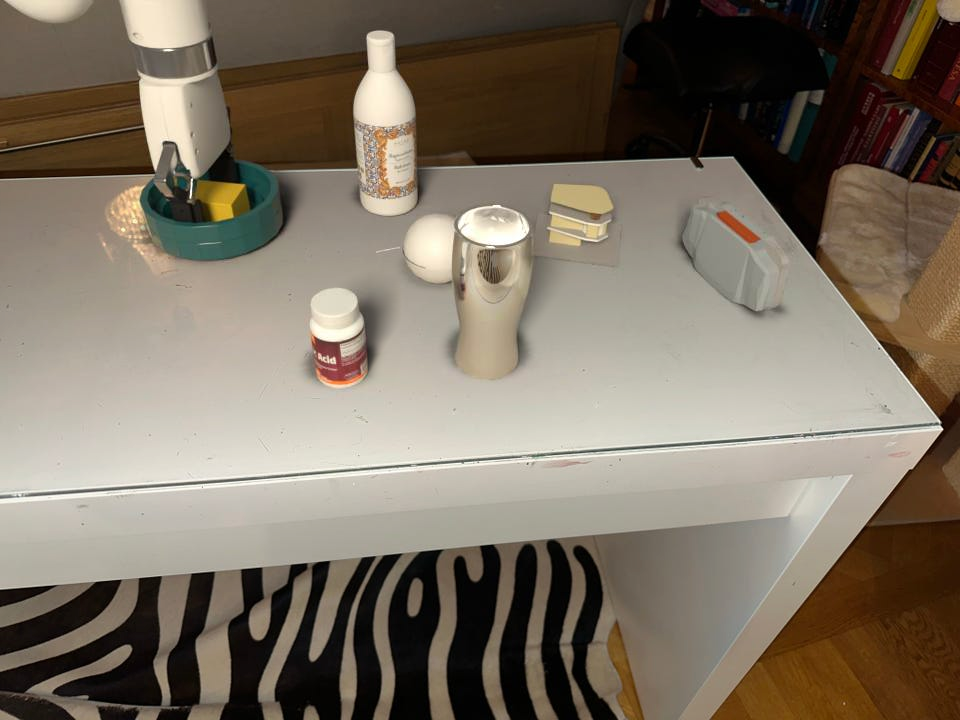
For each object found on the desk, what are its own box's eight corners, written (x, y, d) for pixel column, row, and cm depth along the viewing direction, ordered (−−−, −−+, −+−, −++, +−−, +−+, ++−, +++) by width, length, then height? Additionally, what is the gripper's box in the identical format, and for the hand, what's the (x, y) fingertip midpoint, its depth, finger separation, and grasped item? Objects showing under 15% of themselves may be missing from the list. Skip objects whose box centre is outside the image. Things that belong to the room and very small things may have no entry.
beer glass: (537, 357, 72) (553, 224, 62) (489, 395, 68) (498, 259, 58) (483, 325, 75) (489, 193, 65) (434, 359, 71) (433, 224, 61)
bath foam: (379, 224, 88) (367, 52, 75) (350, 198, 92) (334, 30, 79) (428, 207, 91) (426, 39, 78) (398, 183, 95) (391, 19, 82)
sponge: (186, 231, 84) (177, 199, 82) (201, 210, 88) (194, 179, 85) (237, 236, 84) (231, 204, 81) (251, 214, 87) (245, 184, 85)
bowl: (128, 258, 82) (115, 219, 78) (183, 190, 92) (174, 153, 89) (259, 272, 81) (251, 232, 77) (299, 202, 91) (294, 164, 88)
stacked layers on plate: (529, 255, 85) (533, 213, 81) (538, 213, 91) (542, 172, 87) (618, 267, 84) (626, 224, 80) (621, 224, 90) (629, 183, 86)
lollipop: (472, 257, 84) (474, 199, 79) (471, 298, 78) (473, 239, 73) (382, 255, 84) (378, 197, 79) (376, 296, 78) (371, 236, 73)
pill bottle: (306, 371, 70) (294, 300, 64) (347, 348, 72) (339, 277, 66) (337, 398, 67) (328, 326, 62) (379, 373, 70) (373, 302, 64)
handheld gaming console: (776, 320, 78) (802, 256, 72) (754, 327, 77) (777, 262, 71) (693, 246, 87) (710, 184, 82) (672, 251, 86) (687, 189, 81)
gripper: (175, 21, 79) (207, 168, 91) (93, 86, 67) (143, 248, 78) (244, 27, 79) (267, 174, 91) (175, 94, 66) (212, 255, 78)
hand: (209, 208), depth 85 cm, fingers open, 9 cm apart
